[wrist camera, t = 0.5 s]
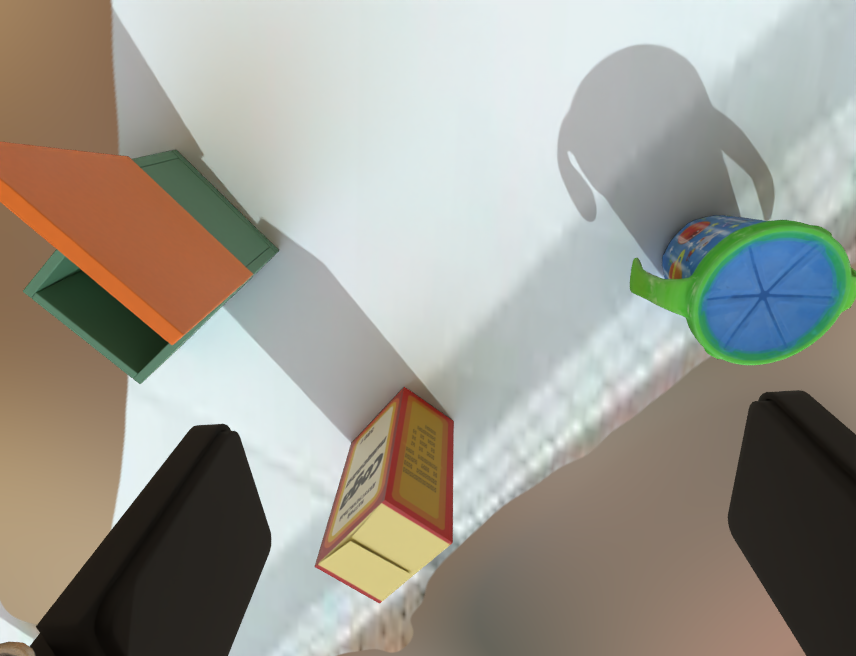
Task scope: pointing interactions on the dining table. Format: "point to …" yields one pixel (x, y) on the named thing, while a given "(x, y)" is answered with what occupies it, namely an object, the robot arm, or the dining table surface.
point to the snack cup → (752, 285)
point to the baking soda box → (392, 499)
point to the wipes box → (107, 317)
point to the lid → (121, 233)
